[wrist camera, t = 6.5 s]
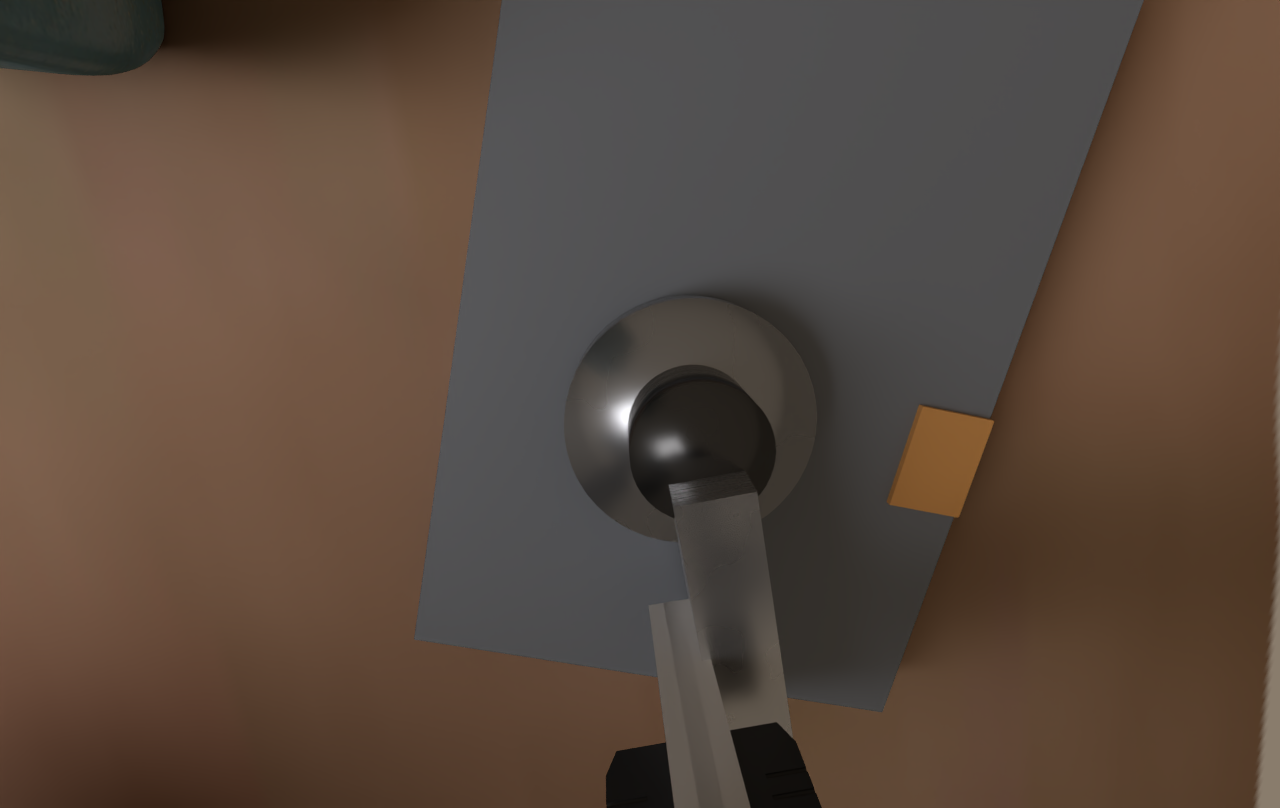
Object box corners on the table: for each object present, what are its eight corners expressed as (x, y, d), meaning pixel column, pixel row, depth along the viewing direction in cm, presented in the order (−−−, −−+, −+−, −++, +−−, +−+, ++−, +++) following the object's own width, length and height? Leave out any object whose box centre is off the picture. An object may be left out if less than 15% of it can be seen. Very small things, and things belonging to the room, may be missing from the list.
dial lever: (544, 319, 15) (515, 348, 10) (787, 273, 15) (855, 283, 10) (632, 708, 17) (636, 851, 13) (834, 670, 17) (902, 802, 13)
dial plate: (434, 599, 19) (412, 644, 17) (541, -144, 14) (528, -214, 12) (856, 667, 20) (885, 717, 18) (1086, 5, 15) (1162, -34, 13)
